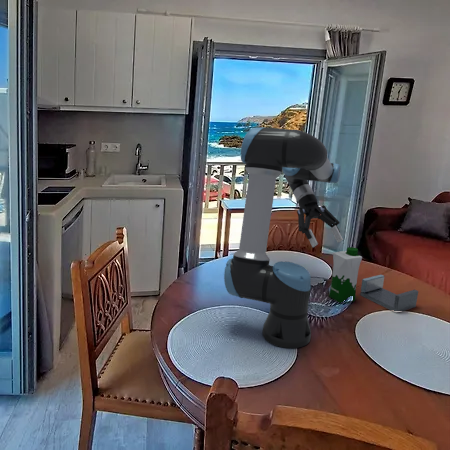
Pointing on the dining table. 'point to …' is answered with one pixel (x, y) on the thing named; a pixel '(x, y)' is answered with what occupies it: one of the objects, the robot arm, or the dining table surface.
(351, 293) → the soya milk
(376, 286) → the block
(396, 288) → the dining table surface
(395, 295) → the vise base
